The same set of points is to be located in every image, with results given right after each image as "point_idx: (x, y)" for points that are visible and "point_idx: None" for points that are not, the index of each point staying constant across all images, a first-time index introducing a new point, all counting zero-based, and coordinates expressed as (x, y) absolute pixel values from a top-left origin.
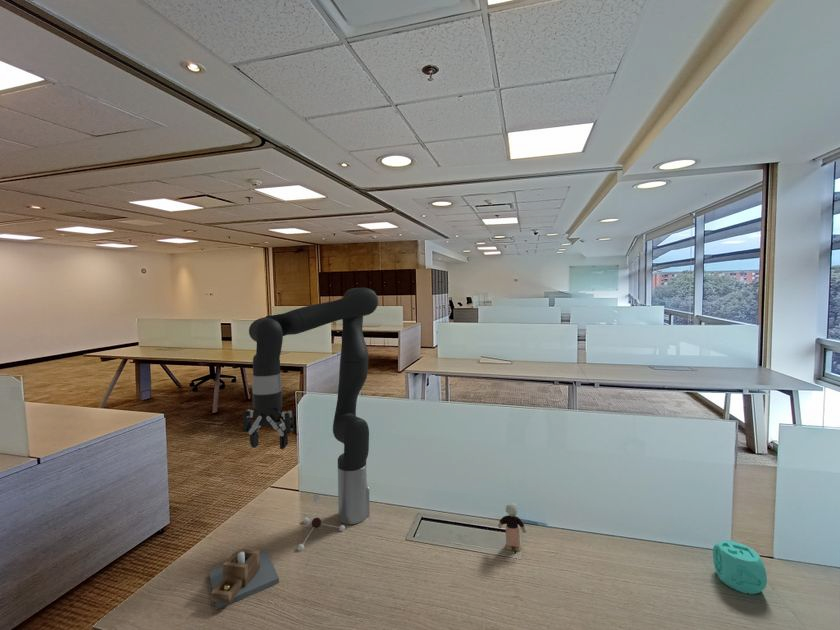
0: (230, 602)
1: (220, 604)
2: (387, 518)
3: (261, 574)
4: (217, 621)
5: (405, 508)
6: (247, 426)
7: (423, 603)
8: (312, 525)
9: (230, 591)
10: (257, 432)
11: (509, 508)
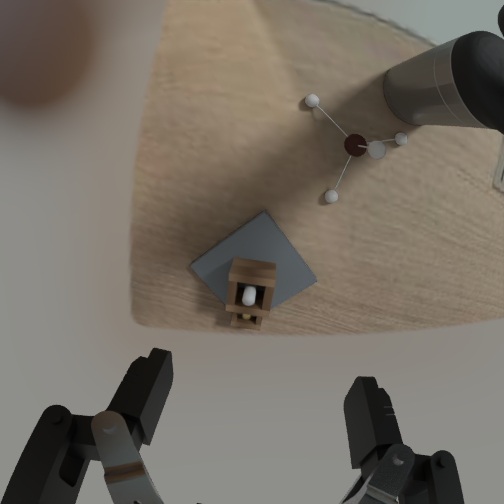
0: None
1: None
2: None
3: (284, 274)
4: (256, 333)
5: None
6: (80, 469)
7: (481, 302)
8: (348, 153)
9: (258, 324)
10: (136, 419)
11: None
